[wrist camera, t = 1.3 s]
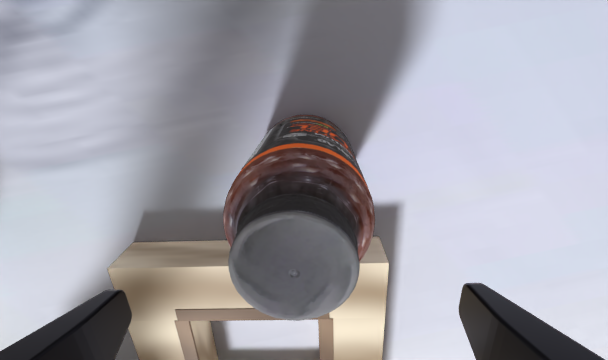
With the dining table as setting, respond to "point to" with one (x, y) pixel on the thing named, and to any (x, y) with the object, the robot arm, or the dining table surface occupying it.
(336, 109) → the dining table surface
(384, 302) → the maple socket board
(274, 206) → the supplement bottle
